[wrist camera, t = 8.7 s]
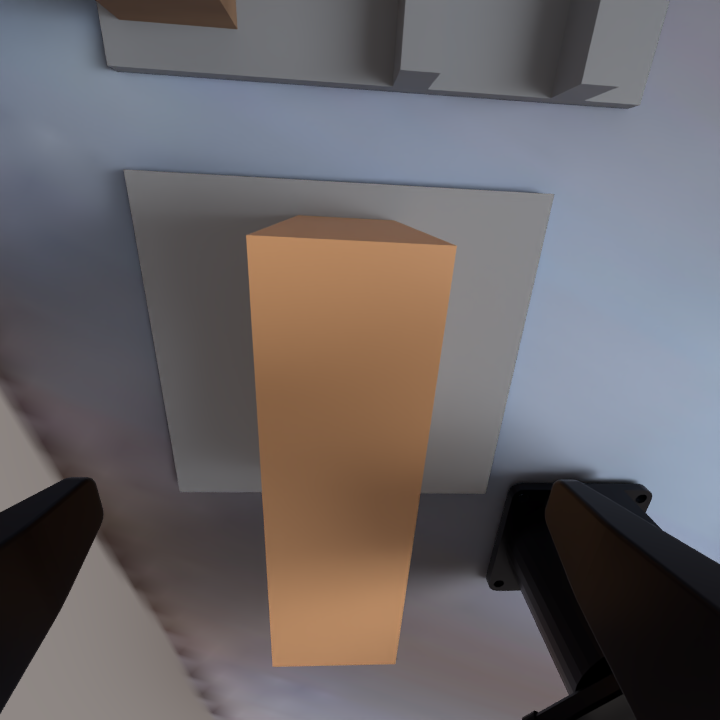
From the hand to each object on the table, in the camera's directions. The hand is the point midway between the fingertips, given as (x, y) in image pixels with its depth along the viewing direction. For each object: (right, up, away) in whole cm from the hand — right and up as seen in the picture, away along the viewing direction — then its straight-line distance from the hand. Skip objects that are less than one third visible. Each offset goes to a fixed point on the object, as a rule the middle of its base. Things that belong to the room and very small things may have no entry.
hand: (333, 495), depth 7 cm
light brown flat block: (0, +3, +6) cm, 7 cm away
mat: (0, +3, +7) cm, 7 cm away
